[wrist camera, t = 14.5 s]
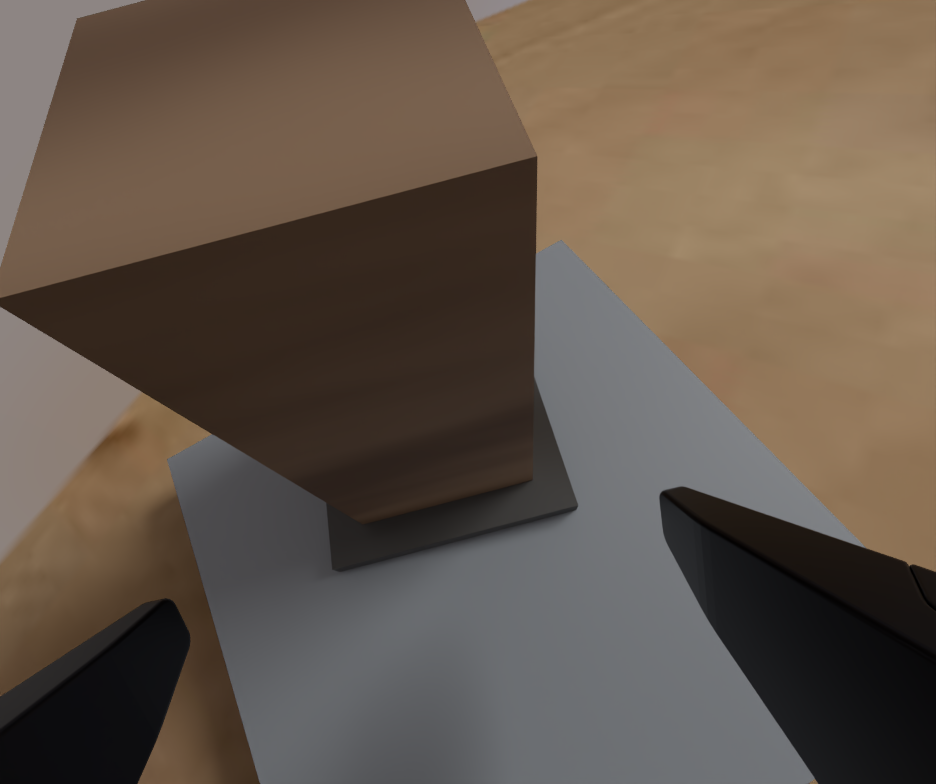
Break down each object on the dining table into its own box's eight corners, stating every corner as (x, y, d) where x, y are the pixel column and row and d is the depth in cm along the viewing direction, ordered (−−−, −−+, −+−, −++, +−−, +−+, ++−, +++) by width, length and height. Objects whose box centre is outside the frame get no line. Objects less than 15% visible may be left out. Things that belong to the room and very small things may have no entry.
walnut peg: (571, 523, 15) (699, 203, 4) (362, 578, 15) (-164, 431, 4) (513, 347, 18) (483, -121, 7) (340, 392, 18) (22, 2, 7)
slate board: (908, 648, 13) (969, 651, 11) (392, 1060, 11) (364, 1147, 9) (558, 274, 20) (561, 239, 18) (203, 476, 18) (167, 459, 16)
